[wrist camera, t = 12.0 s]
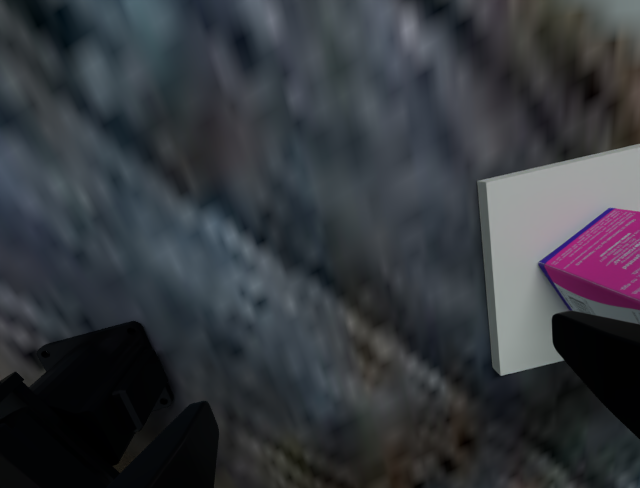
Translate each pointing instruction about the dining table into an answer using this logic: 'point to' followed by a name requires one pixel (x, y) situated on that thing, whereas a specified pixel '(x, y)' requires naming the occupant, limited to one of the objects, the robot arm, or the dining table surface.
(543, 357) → the mat
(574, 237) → the supplement box
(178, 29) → the dining table surface
